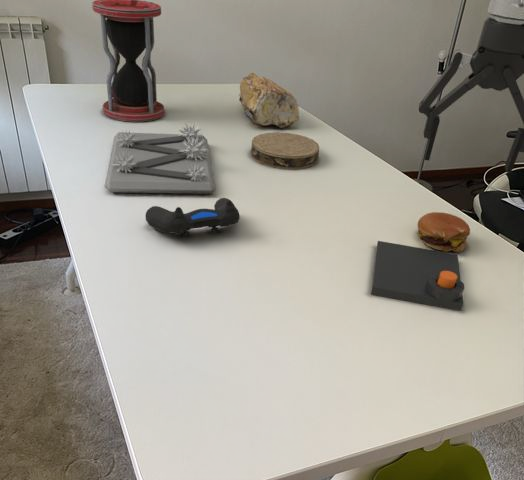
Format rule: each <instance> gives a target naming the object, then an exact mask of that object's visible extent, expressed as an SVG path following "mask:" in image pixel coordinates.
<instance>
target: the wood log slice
mask: <svg viewBox="0 0 524 480" xmlns="http://www.w3.org/2000/svg"><path fill="white" fill-rule="evenodd" d="M250 148H251V149H250V155H251V158H252V159H253V160H255V161H256V163H257V162H258V163H259V164H262V165H264V166H268V167H271V168H275V169H276V168H277V169H280V170H281V169H282V170H301V169H302V170H303V169H306V168H310V167H313V166H315V165H316V164H317V163H318V160H319V152H320V145H319V143H318V142H317V141H316V140H315V139H312V138H310V137H308V136H305V135H300V134H298V133H291V132H280V131H276V132H265V133H260V134H258V135H256V136H254V137H253V138H252V140H251V147H250Z"/></svg>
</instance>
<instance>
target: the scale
mask: <svg viewBox="0 0 524 480" xmlns="http://www.w3.org/2000/svg"><path fill="white" fill-rule="evenodd" d="M459 262H460V261H459V254H457V253H452V252H448V251H447V252H445V251H442V250H436V249H435V250H434V249H429V248H424V247H416V246H411V245H405V244H400V243H394V242H389V241H388V242H387V241H382V240H377V243H376V246H375V256H374V263H373V271H372V278H371V279H372V280H371V281H372V282H371V287H370V289H371V290H370V295H373V296H378V297H384V298H389V299H395V300H400V301H405V302H411V303H417V304H422V305H427V306H433V307H438V308H444V309H450V310H455V311H462V309H463V307H464V302H465V301H464V291H465V283H464V282H463V281H462V279H461V271H460V263H459ZM442 271H451V272H453V273H455V274H456V275H457V280H456V283H455V286H454V288H450V289H449V288H444V287H442V286H439V285H438V284H437V282H438V279H439V276H440V273H441V272H442Z"/></svg>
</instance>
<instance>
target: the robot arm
mask: <svg viewBox="0 0 524 480" xmlns="http://www.w3.org/2000/svg"><path fill="white" fill-rule="evenodd" d="M487 13H488V15H490V16H489V17H487V18H486V19H485V20H484V22H483V25H482V28H481V32H480V35H479V39H478V43H477V46H476V49H475V51H474V52H473V53H472V54H470V53H466V52H462V50H461V49H456V50H455V51H454V52H453V53H452V56H451V59H450V61H449V64H448V66H447V67H446V68H445V69H444V71H443V72H442V74H441V75H440V76H439V78H437V80H436V81H435V82H434V84H433V85H432V86H431V88H430V89H429V90H428V92H427V93H426V94H425V95H424V97H423V98H422V100H421V101H420V102H419V104H418V112H419V113H420V114H423V115H424V116H426V120H425V124H424V129H423V138H424V139H428V140H427V143H426V147H425V150H424V161H430V159H431V154H432V151H433V147H434V144H435V140H436V137H437V133H438V129H439V125H440V122H441V119H440V114H442V113H443V112H445V110H447V109H448V108H450V106H453V104H454V103H455V102H457V101H458V100H459V99H460V98H462V97H463V96H465V95H466V94H467V93H468V92H469V91H471V90H472V89H474V88H475V87H476V86H478V87H479V88H480V89H483V90H489V89H493V90H495V91H498V92H502V91H504V90H507V89H508V90H509V93H510V96H511V98H512V100H513V102H514V105H515V107H516V109H517V112H518V114H519V116H520V119H521V122H522V123H523V125H524V97H523V95H522V92H521V90H520V87H519V85H518V82H517V81H518V79H520V78H521V77H522V76H523V75H524V0H490V1H489V5H488V7H487ZM467 64H469V65H470V69H471V71H472V72H470V74H468V75H467V76H466V77H465V78H464V79H463V81H461V82H460V83H459V84H458V85H456V86H455V87H453V89H452V90H450V91H449V92H448V93H447V94H445V95H444V96H443V97H442V98H441V99H440V100H439V101H437V102H436V103H435V104H434V105H433V103H434V102H435V100H436V99H437V98H438V96H439V95H440V94H441V93H442V92H443V90H444V89H445V88H446V86H447V85H448V84H449V83H450V81H451V80H452V78H453V77H454V76H455V75H456V73H457V72H458V70H461V69H463V68H464V67H465V65H467ZM519 153H524V127H517V131H516V134H515V136H514V139H513V142H512V145H511V147H510V150H509V153H508V156H507V158H506V161H505V164H504V170H505V172H506V173H507V174H512V172H513V170H514V166H515V164H516V161H517V158H518V156H519Z"/></svg>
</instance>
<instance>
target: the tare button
mask: <svg viewBox="0 0 524 480" xmlns="http://www.w3.org/2000/svg"><path fill="white" fill-rule="evenodd" d="M456 280H457V275H456V274H455V273H453V272H451V271H442V272H441V273H440V276H439V279H438V282H437V284H438V285H439V286H442V287H444V288H449V289H450V288H454V286H455V283H456Z"/></svg>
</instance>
